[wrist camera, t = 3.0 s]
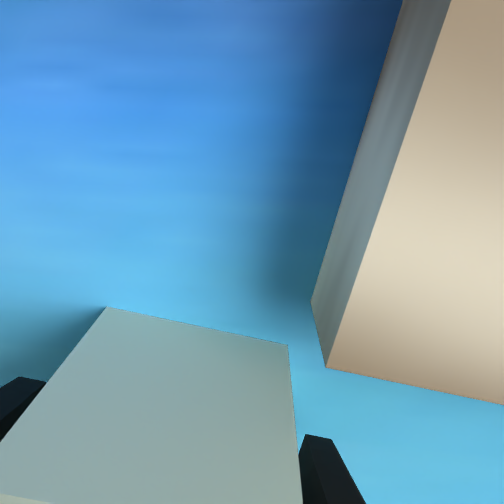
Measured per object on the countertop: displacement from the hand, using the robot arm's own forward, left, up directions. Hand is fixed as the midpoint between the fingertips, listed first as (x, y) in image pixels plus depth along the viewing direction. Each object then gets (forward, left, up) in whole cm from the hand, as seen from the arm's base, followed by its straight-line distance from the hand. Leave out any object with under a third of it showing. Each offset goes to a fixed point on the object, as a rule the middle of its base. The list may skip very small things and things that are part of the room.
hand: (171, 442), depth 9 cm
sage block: (0, 0, -2) cm, 2 cm away
